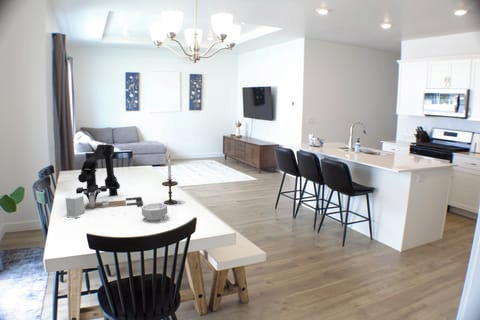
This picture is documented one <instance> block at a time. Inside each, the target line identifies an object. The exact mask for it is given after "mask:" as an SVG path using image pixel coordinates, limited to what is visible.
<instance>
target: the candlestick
mask: <svg viewBox="0 0 480 320" xmlns="http://www.w3.org/2000/svg"><path fill="white" fill-rule="evenodd" d="M170 157H171V154H169V156H168V160H167V169H168V171H167V173H168V176H167V177H168V178H167V179H166V180H167V181H163V182H162V183H161V185H162V186H164V187H168V191H167V193H168V197H169V198H168V199H167V200H165V201H163V204H166V205H167V206H168V205H169V206H170V205H176V204H178V201H177V200H176V199H172V197H173V195H172V194H173V192H172V187H175V186H177V185H179V182H178V181H175V180H174V181H173V178H172V166H171V165H172V161H171V158H170Z"/></svg>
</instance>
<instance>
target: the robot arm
mask: <svg viewBox="0 0 480 320" xmlns="http://www.w3.org/2000/svg"><path fill="white" fill-rule="evenodd" d="M114 153H115V147H114V145H113V144H103V143H102V144H100V143H99V144H97V146H96V149H95V150H94V151H93V153H92V155H91V156H90V157H89V158H86V160H84V162H83V164H82V167H81V171H80V174H78V177H77V179H78V181H79V182H80V183H86V186H85V187H86V188H84V187H82V186H81V187H79V186H78V187H76V189H75V192H76V193H75V194H83V195H85V196H86V198H87V200H88V203H90V200H89V195H90V193H91V192H93V193H94V192H95V202H96V203H97V200H98V199H97V198H98V196H99V194H100V193H101V192H102V193H105V192H107V191H108V193H109V194H108V197H117V196H119V194H118V190H119V189H120V188H121V185H120V183H119V181H118V179H117V176H115V171H114V165H113V164H114V162H113V155H114ZM101 156H103V157H104V161H105V168H106V169H105V170H106V178H105V179H104V185H101V186H100V187H99V185H98V184H97V177H96V176H97V175H96V172H97V171H98V170H97V167H98V161H99V159H100V158H101Z"/></svg>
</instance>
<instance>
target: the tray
mask: <svg viewBox="0 0 480 320" xmlns="http://www.w3.org/2000/svg"><path fill="white" fill-rule="evenodd" d="M125 201H135V202H128V203H127V202H126V207H128V206H137V207H136V208H140V207H141V208H142V206H144V201H143V198H142V196H139V197H138V196H136V197H126V198H125Z"/></svg>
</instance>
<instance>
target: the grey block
mask: <svg viewBox="0 0 480 320" xmlns="http://www.w3.org/2000/svg"><path fill="white" fill-rule="evenodd" d="M95 192H96V191H95ZM95 192H94V193H93V192H91V193H89V200H90V202H89V203H90V208H95V204H96V203H97V201H96V202H95ZM89 200H88V201H89ZM95 209H96V208H95Z"/></svg>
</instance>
